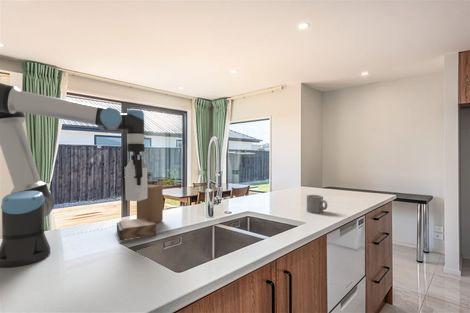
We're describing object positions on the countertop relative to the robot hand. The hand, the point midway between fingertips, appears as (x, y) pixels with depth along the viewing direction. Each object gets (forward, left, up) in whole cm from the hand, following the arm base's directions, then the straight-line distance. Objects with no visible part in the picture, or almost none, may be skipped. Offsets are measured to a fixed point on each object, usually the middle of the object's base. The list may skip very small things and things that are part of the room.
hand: (136, 190), depth 120 cm
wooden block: (+9, +16, -20) cm, 27 cm away
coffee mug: (+106, -12, -20) cm, 109 cm away
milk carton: (0, 0, -4) cm, 4 cm away
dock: (0, 0, -20) cm, 20 cm away
